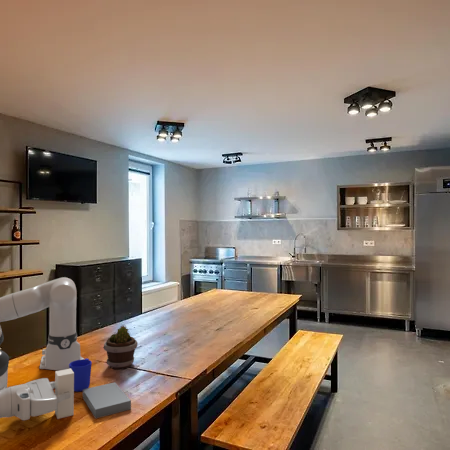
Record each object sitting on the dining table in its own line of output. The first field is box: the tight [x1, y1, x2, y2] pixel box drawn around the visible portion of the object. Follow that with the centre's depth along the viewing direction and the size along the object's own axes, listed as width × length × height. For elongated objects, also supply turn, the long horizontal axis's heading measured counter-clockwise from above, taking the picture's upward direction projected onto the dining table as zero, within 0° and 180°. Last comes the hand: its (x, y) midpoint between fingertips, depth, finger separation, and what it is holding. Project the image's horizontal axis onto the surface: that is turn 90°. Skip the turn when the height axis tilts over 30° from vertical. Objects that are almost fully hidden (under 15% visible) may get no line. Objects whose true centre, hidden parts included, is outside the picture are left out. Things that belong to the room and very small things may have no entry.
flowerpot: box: [102, 324, 138, 370], centre depth 171 cm, size 14×15×20 cm
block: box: [54, 368, 75, 420], centre depth 127 cm, size 5×5×14 cm
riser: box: [82, 381, 132, 419], centre depth 134 cm, size 18×12×3 cm, turn 34°
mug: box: [68, 358, 93, 392], centre depth 148 cm, size 8×12×10 cm
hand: (67, 389), depth 127 cm, fingers open, 8 cm apart
